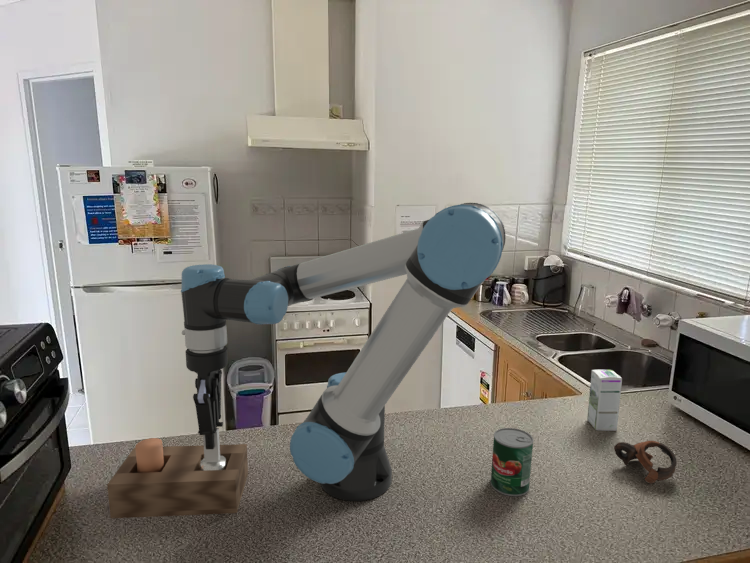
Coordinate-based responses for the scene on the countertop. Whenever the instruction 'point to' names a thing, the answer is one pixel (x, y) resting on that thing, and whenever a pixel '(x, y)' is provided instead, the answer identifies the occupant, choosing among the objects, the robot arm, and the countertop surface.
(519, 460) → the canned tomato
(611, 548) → the countertop surface
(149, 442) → the tan rounded piece
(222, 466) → the grey rounded piece
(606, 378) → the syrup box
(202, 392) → the robot arm
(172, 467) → the brown wooden block
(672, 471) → the brown double ring
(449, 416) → the countertop surface
